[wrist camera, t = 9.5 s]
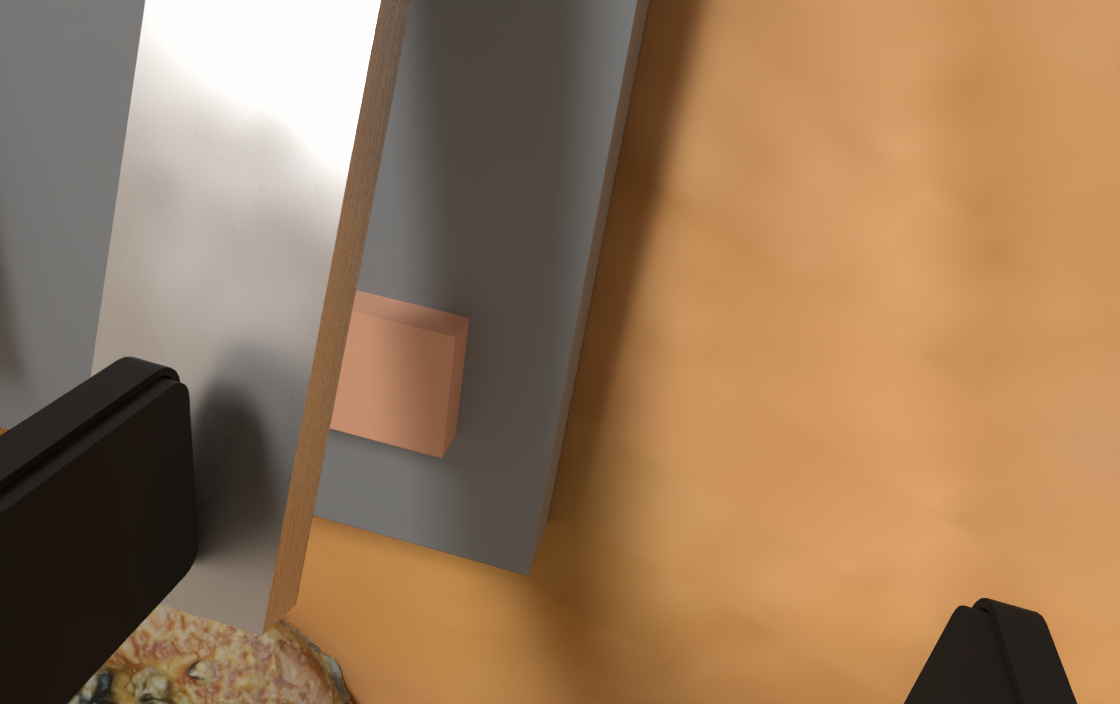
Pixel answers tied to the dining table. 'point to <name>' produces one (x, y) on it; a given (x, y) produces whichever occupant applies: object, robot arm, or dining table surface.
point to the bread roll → (213, 666)
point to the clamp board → (367, 249)
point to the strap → (249, 260)
